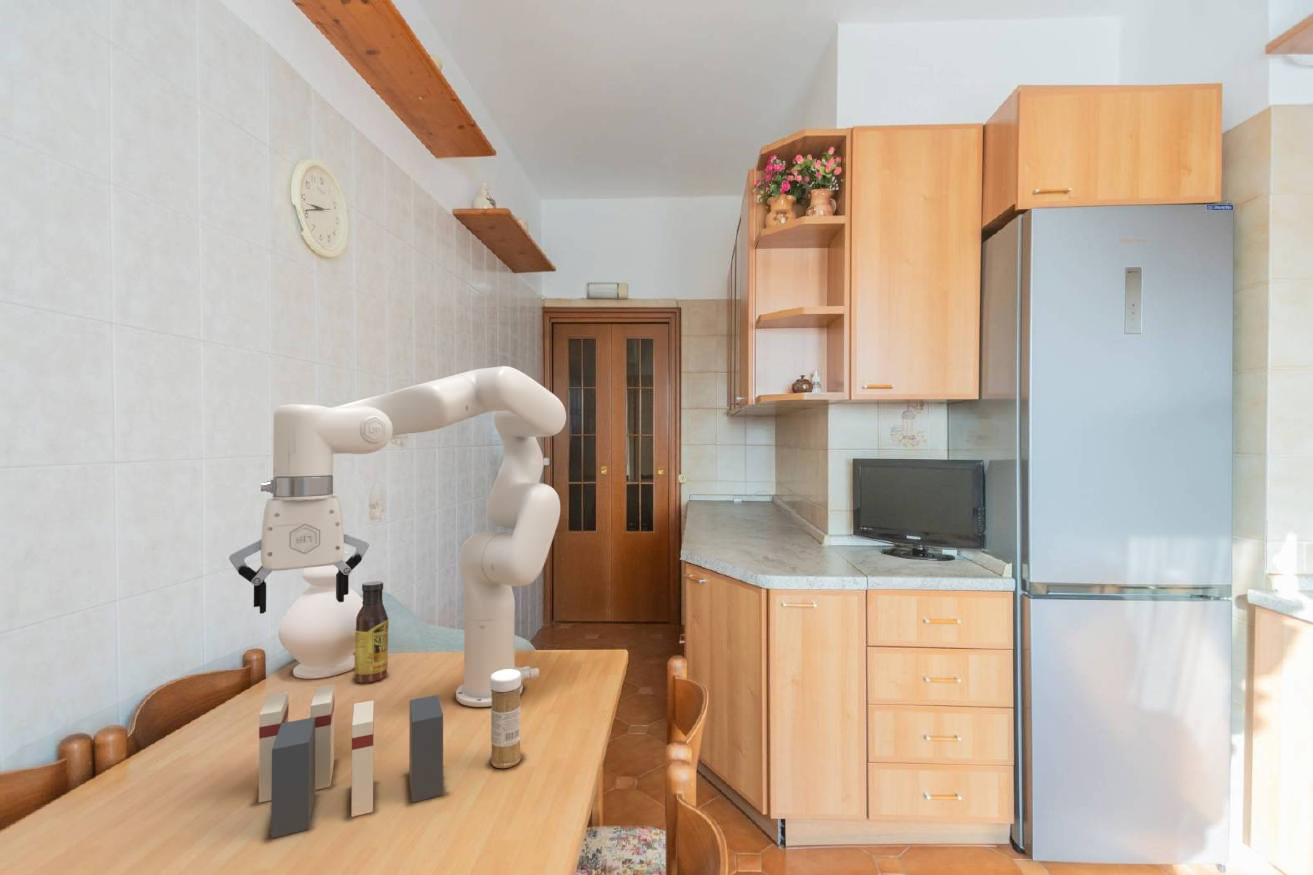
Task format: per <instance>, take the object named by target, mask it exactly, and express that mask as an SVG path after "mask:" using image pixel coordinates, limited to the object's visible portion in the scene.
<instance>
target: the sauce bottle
mask: <svg viewBox="0 0 1313 875" xmlns="http://www.w3.org/2000/svg"><path fill="white" fill-rule="evenodd" d="M361 590H362V599H363V602H362V604H363V606H362V608H361V610H360V611H359V613H358V615H357V618H356V630H355V652H354V656H355V667H354V674H355V675H354V677H355V678H354V679H355V681H356V682H358V683H362V684H363V683H365V684H366V683H368V684H369V683H373V682H377V681H380V680H382V679H384V678H385V677H386V676H387V673H388V668H389V667H388V666H389V663H388V662H389V617H388V614H387V612H386V611H387V610H386V609H385V606H384V603H383V602H384V601H383V590H384V582H383V581H381V580H374V581H366V582H363V583H362V585H361Z"/></svg>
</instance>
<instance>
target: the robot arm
mask: <svg viewBox="0 0 1313 875" xmlns="http://www.w3.org/2000/svg"><path fill="white" fill-rule="evenodd" d="M491 412H493V423H494V427H495V429H496V432H497V433H498V435H499V438H500V440H501V444H502V448H503V458H502V462H501V465H500V468H499V471H498V473H497V476H496V478H495V481H494V483H493V487H492V489H491V491H490V494H489V496H488V499H487V501H486V506H485V516H486V518H487V520H488V521H489V523H491V524H492V525H494V526H496V527H498V528H499V527H500V528H503V529H504V528H505V529H510V530H511V529H512V530H513V532H512V533H506V532H500V531H479V532H476V533H474V534H472V535H470V536H469V537H468V538H467V539H466V540H465V541H464V542H463V544H462V546H461V548H460V551H459V556H458V558H459V559H458V563H459V570H460V571H459V572H460V576H461V580H462V586H463V587H462V588H463V596H464V600H463V601H464V649H463V650H464V652H463V653H464V660H463V662H464V665H463V666H464V668H463V669H464V670H463V672H464V673H463V674H464V677H463V678H464V682H463V683H462V684H461V685H459V686H458V687H457V688H456V691H455V699H456V701H457V702H458V703H459V704H461V705H464V706H467V707H474V708H488V707H489V708H490V707H492V691H491V688H490V678H491V675H492V674H493V673H495V672H497V671H499V670H504V669H515V670H518V671H519V672H520V673H521V685H520V695H521V694H522V693H523V688H524V684H523V682H524V681H526V680H534V679H539V677H540V670H539V668H538V667H534V668H530V667H531V666H530V665H527V666H522V667H518V666H517V665H516V662H515V661H516V660H515V659H516V658H515V657H516V646H515V645H516V643H515V642H516V637H515V636H516V603H515V595H514V591H513V588H512V587H517V588H521V587H526V586H530V585H531V584H532V583H534V582H535V581H536V580H537V579H538V577H539V576H540V575H541V573H542V570H543V568H544V566H545V563H546V560H547V558H548V555H549V552H550V549H551V545H552V542H553V540H554V537H555V534H556V530H557V528H558V525H559V520H560V516H561V500H560V497H559V494H558V493H557V491H556V490H555V489H554V488H553V487H552V486H551V485H549V484H546V483H542V482H540V481H541V477H542V474H543V470H544V464H545V463H544V455H543V452H542V449H541V447H540V444H539V443H538V440H537V438H549V437H550V438H551V437H553V436H556V435H557V434H559V433H561V431H562V430H563V429H564V427H565V425H566V422H567V411H566V409H565V406H564V404H563V402H562V401H561V400H560V398H558V396H556V395H555V394H554V393H553V392H551V391H550V390H548V389H547V388H545V387H544V386H543V385H541V383H538V381H536V380H535V379H533V378H531V377H530V376H529V375H528V374H526V373H524V372H522V371H521V370H519V369H516V368H514V367H512V366H507V365H501V366H493V367H492V366H491V367H484V368H483V367H482V368H477V369H471V370H468V371H465V372H461V373H457V374H453V375H449V376H445V377H442V378H439V379H435V380H431V381H427V382H423V383H419V384H415V385H411V386H408V387H404V388H401V389H397V390H394V391H391V392H386V393H383V394H378V395H375V396H370V397H366V398H363V399H358V400H355V401H351V402H348V403H347V402H346V403H344V404H340V405H336V406H333V407H332V406H331V407H327V406H325V405H319V404H308V403H307V404H306V403H290V404H283V405H279V406H278V407H277V408H276V409H275V411H274V412H273V422H272V423H273V425H272V426H273V427H272V428H273V430H272V431H273V434H272V437H273V438H272V442H273V443H272V444H273V445H272V448H273V449H272V479H270V480H266V481H261V482H260V492H267V493H269V494H272V498H269V499H268V498H267V500H266V503H265V505H264V506H265V507H264V510H263V517H262V524H261V525H262V526H261V535H260V536H261V537H260V539H258V540H256V541H254V542H252V543H250V544H248V545H246V546H244V547H242V548H240V549H238V550H236V551H234V552H232V553H230V554H229V558H228V559H229V561H230V563H231V564H232V565H233V567H234V569H235V570H236V571H237V573H238V575H240V577H242V578H244V579H245V580H246V581H248V582H249V583H251V584H252V585H253V608H259V614H261V615H262V614H265V613H267V582H266V581H265V580H266V579H267V578H268V576H269V575H270V574H271V573H272V572H278V571H280V572H281V571H290V570H298V569H305V568H310V567H319V566H327V565H334V566H336V567H337V568H338V572H337V574H336V599H337V601H338V602H344V595H348V587H349V585H350V584H349V577H350V575H351V574H352V572H351V571H353V570H354V569H355V568H356V567H357V566H358V565H359V564H360V563H361V562H362V560H363V558H364V557H365V554H366V553H367V551H368V549H369V548H370V547H369V546H370V544H369V542H367V541H365V540H363V539H360V538H357V537H355V536H352V535H349V534H347V533H345V532H344V523H343V513H342V512H343V511H342V505H341V500H340V497H339V496H336V495H334V454H336V455H337V454H338V455H340V454H342V455H343V454H345V455H347V454H349V455H350V454H351V455H367V454H372V453H376V452H378V451H380V450H382V449H383V448H385V447H386V446H387V445H388V444H389V443H390V441H391V440H392V437H394V436H399V435H405V434H418V433H426V432H430V431H435V430H439V429H443V428H446V427H448V426H451V425H453V424H456V423H459V422H461V421H464V420H467V419H471V418H473V417H476V416H479V415H482V414H487V413H491ZM345 545H348V546H351V547H353V548H355V550H354V553H353V554H352V555H351V556H350V558H348V559H347V560H346V561H345V560H344V558H343V555H344V551H345ZM259 551H260V563H261V565H260V566H259V568H258V569H257V570H256V571H255V570H254V569H253V568H251V567H250V566H249V565H247V563H246V561H245V559H246V558H247V557H249V556H252V555H254V554H255V553H258V552H259ZM343 560H344V561H345V562H344V561H343ZM350 573H351V574H350ZM349 574H350V575H349Z"/></svg>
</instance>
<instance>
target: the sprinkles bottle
mask: <svg viewBox="0 0 1313 875" xmlns="http://www.w3.org/2000/svg"><path fill="white" fill-rule="evenodd" d="M520 685H521V673H520V672H519V671H518V670H515V669H504V670H499V671H497V672H495V673H493V674H492V675H491V678H490V688H491V691H492V706H490V724H491V725H490V737H491V738H490V741H491V742H490V743H491V758H490V763H491V765H492V766H493V767H495V768H497V769H508V768H511V767H514V766H516V765H517V764H518V763H519V762H520V761H521V759H522V754H521V694H520Z"/></svg>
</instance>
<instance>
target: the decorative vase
mask: <svg viewBox="0 0 1313 875" xmlns="http://www.w3.org/2000/svg"><path fill="white" fill-rule="evenodd" d="M347 556H348V552H347V551H345V550H344V555H343V559H342V560H343V561H344V562H346V561H345V560H344V558H346V557H347ZM352 571H353V570H352ZM352 571H351V573H350V574H349V576H350V575H351V574H352ZM337 572H338V568H337V567H336V566H334V565H327V566H319V567H310V568H303V571H302V574H301V576H302V579H303V580H304V581H305V582H306V583H307V584H309V585H310V586H309V587H308V588H307V589H306V590H305V591H304V592H303V593H301V595H300V596H299V597H298V598H297V599H296V600H295V601H294V602H293V603H292V605H291V606H290V607H289V609H288V610H287V611H286V613H285V614H284V615H283V617H282V619H281V621H280V623H279V628H278V640H279V642H280V644H281V646H282V647H283V648H284V650H286V651H287V653H288V654H290V656H292V657H293V658H294V659H295V660H296V661H297V662H298V663H299V664H297V665H295V667H293V670H292V674H293V676H294V677H296V678H299V679H306V680H308V679H309V680H312V679H314V680H315V679H323V678H330V677H333V676H338V675H340V674H344V673H346V672H349V671H351V670H353V669H355V630H356V618H357V615H358V613H359V611H360V610H361V608H362V606H363V604H362V602H363V597H361V596H360V595H359V594H358V592H356V591H355V590H354V589H353V588H351V587H350V586H348V595H344V602H338V601H337V599H336V574H337Z"/></svg>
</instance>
